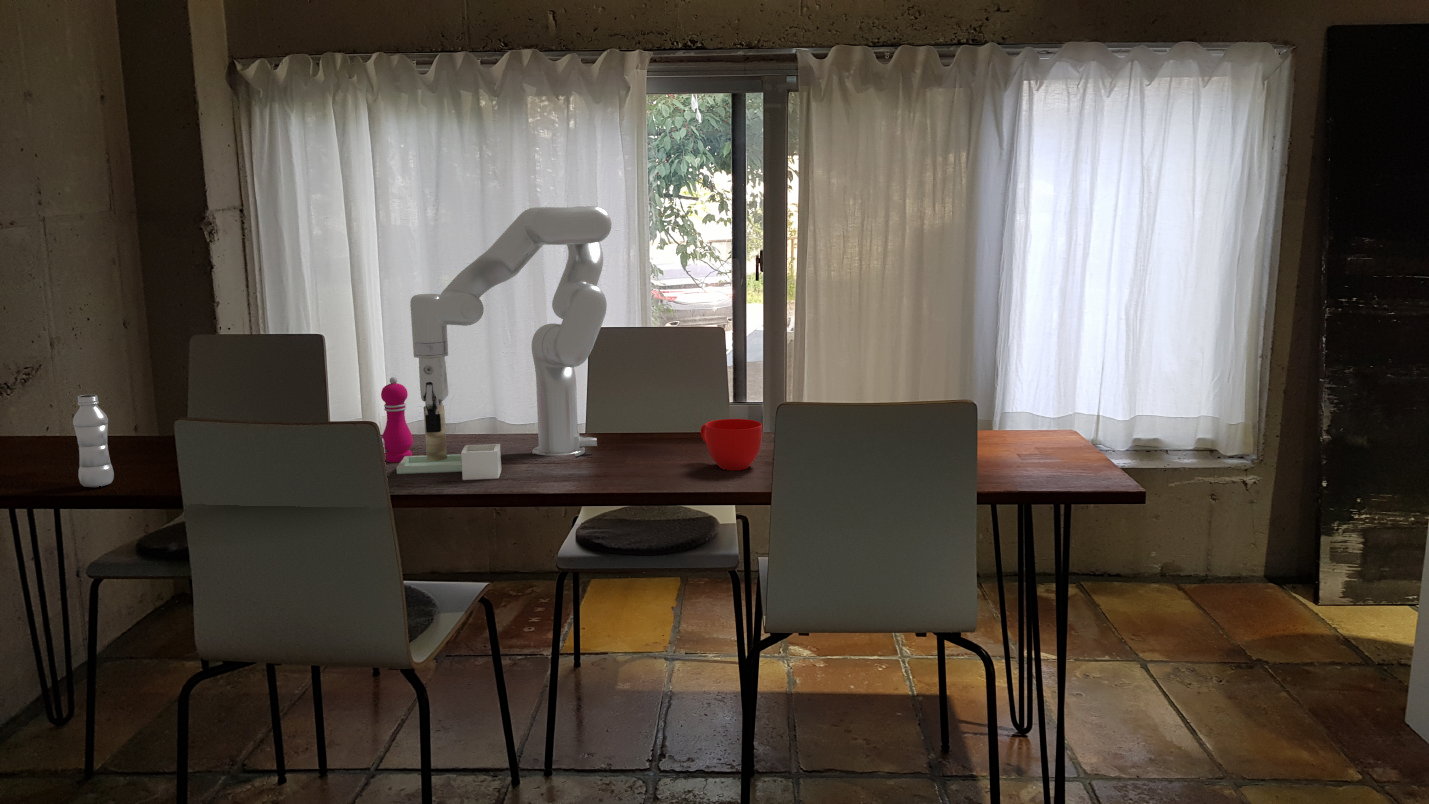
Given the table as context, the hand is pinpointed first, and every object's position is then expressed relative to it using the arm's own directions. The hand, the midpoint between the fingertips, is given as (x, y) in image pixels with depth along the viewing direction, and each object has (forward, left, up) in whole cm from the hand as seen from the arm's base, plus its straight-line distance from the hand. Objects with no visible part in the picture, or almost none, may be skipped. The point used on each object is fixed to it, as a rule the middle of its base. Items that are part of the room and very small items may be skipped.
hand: (435, 428), depth 237 cm
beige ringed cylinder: (0, 0, -7) cm, 7 cm away
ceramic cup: (-66, +6, -10) cm, 67 cm away
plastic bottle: (+72, +3, -10) cm, 73 cm away
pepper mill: (+11, -13, -10) cm, 20 cm away
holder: (-11, +10, -10) cm, 17 cm away
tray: (0, 0, -10) cm, 10 cm away
